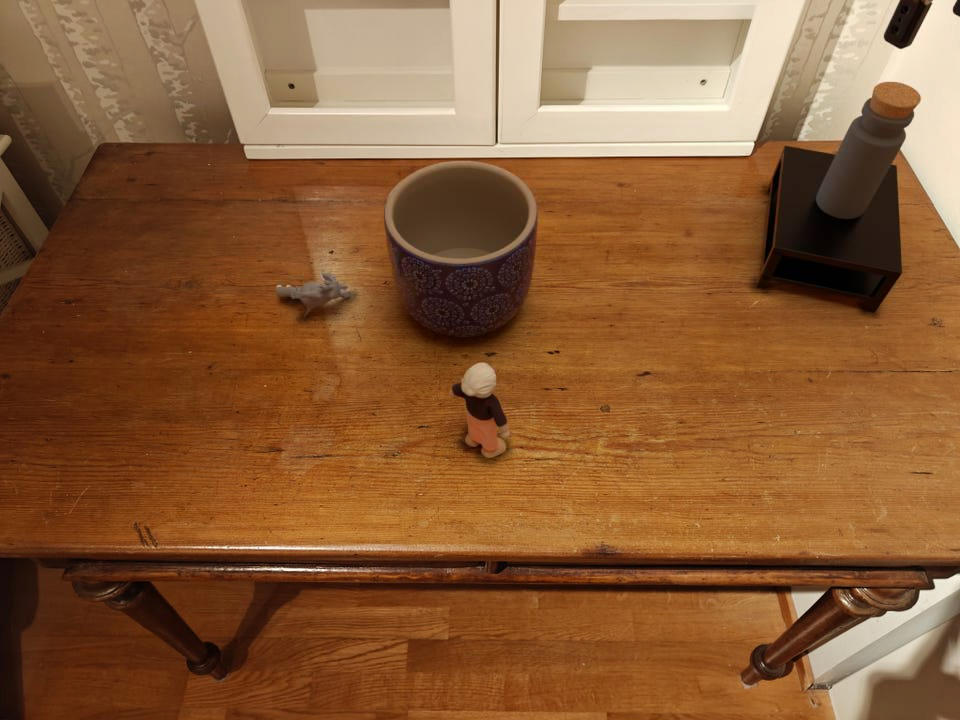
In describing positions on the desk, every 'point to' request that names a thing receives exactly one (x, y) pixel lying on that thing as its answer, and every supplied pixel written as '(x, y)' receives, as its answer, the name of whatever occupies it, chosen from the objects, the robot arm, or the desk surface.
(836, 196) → the bottle
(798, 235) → the stand
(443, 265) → the planter
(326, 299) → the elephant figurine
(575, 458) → the desk surface
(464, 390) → the grandmother figurine
